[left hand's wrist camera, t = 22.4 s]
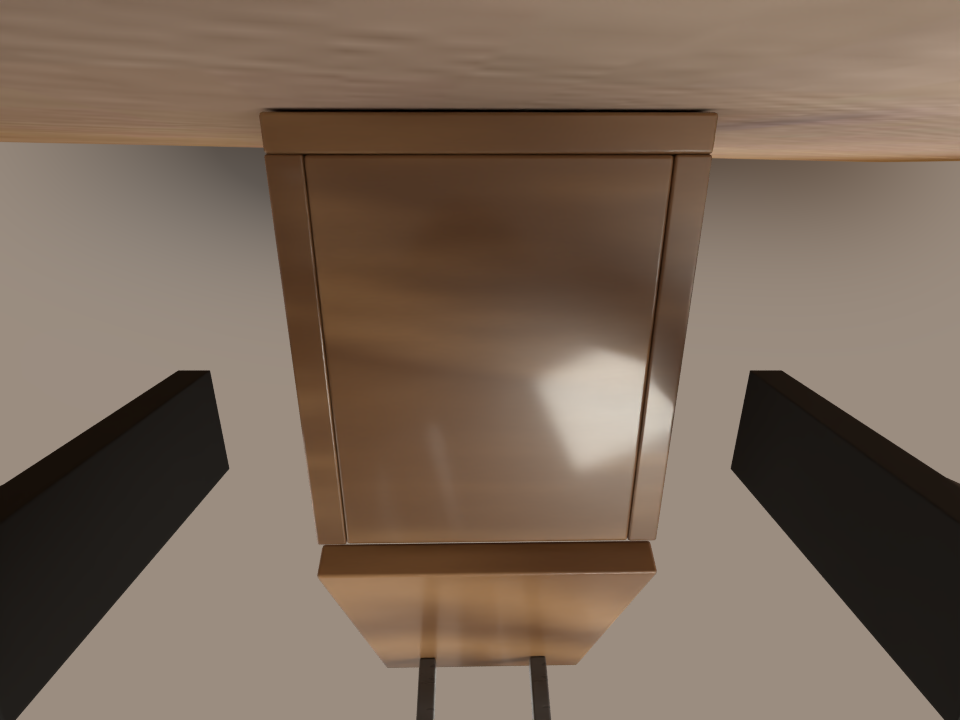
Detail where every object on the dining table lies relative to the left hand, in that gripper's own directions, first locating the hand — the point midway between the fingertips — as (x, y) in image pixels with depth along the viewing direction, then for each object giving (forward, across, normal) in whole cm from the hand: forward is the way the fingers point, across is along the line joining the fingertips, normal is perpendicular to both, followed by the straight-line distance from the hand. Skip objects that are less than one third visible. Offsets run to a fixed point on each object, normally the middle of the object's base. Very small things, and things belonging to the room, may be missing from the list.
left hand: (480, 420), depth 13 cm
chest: (+6, 0, -7) cm, 9 cm away
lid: (+4, 0, +10) cm, 10 cm away
